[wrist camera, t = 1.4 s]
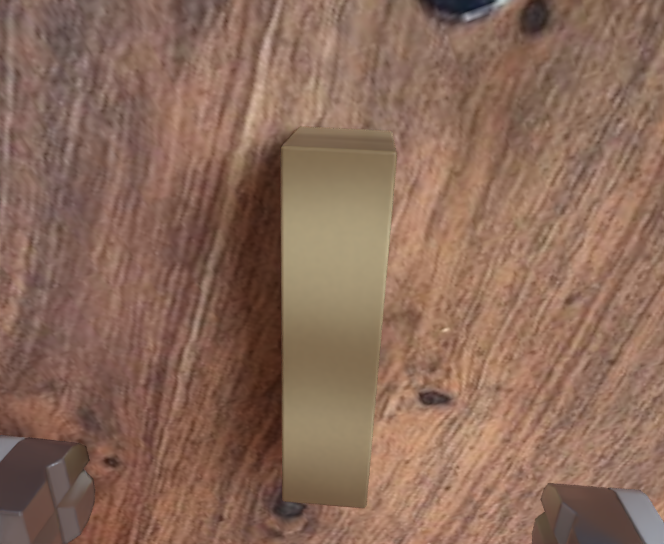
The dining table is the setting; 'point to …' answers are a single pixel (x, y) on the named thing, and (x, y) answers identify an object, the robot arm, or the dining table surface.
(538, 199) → the dining table surface
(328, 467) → the stick
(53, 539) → the robot arm
